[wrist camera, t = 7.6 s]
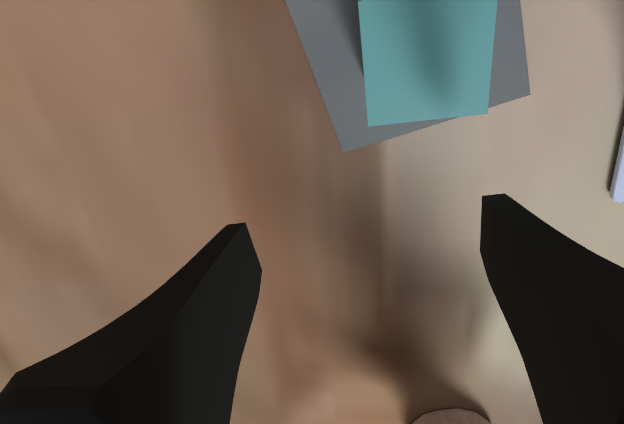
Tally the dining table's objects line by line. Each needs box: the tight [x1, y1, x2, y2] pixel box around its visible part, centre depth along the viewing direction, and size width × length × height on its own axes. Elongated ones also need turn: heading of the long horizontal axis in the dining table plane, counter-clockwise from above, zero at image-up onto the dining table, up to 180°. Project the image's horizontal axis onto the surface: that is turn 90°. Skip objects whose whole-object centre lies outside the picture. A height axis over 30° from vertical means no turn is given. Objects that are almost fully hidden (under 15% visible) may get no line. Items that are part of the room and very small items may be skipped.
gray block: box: [285, 0, 530, 153], centre depth 18 cm, size 9×9×2 cm
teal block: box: [358, 0, 497, 127], centre depth 15 cm, size 4×4×6 cm
